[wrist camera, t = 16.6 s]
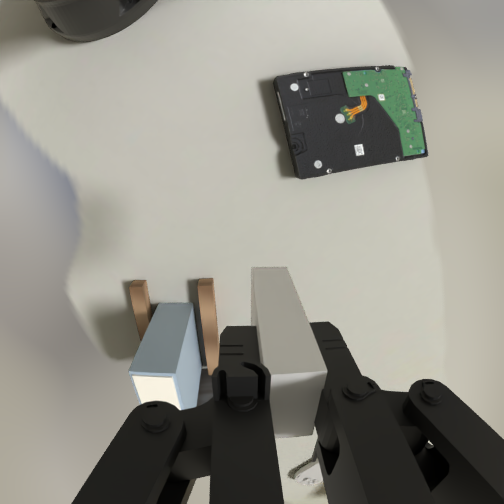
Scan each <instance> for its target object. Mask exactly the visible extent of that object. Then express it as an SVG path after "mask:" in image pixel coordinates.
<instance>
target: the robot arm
mask: <svg viewBox="0 0 504 504" xmlns="http://www.w3.org/2000/svg"><path fill="white" fill-rule="evenodd" d="M35 1H36V3H37V5H38V7H39V9H40V11H41V13H42V15H43V17H44V19H45V21H46V23H47V24H48V26H49V27H50V28H51V29H52V30H53V31H54V32H55V33H57V34H59V35H61V36H62V37H64V38H66V39H69V40H72V41H78V42H84V41H93V40H97V39H101V38H104V37H107V36H110V35H112V34H114V33H116V32H118V31H120V30H122V29H124V28H126V27H127V26H129V25H131V24H132V23H133V22H135V21H136V20H138V19H139V18H140V17H141V16H143V15H144V14H145V13H146V12H147V11H148V10H149V9H150V8H151V7H152V6H153V5H154V4H155V3H156V2H157V0H35ZM211 379H212V389H213V397H212V398H211V399H210V400H209V401H208V402H206V403H204V404H202V405H200V406H197V407H194V408H189V409H184V410H179V409H178V408H177V407H176V406H175V405H173V404H170V403H168V402H165V401H150V402H145V403H143V404H141V405H139V406H137V407H136V408H135V409H134V410H133V411H132V412H131V413H130V414H129V416H128V417H127V419H126V420H125V422H124V424H123V425H122V427H121V428H120V430H119V431H118V433H117V434H116V436H115V437H114V439H113V440H112V442H111V443H110V445H109V446H108V448H107V449H106V451H105V452H104V454H103V456H102V457H101V459H100V460H99V462H98V463H97V465H96V466H95V468H94V469H93V471H92V473H91V474H90V476H89V477H88V479H87V480H86V482H85V483H84V485H83V486H82V488H81V490H80V491H79V493H78V494H77V496H76V497H75V499H74V501H73V502H72V504H187V501H188V499H189V496H190V494H191V491H192V488H193V486H194V483H195V481H196V478H200V477H205V476H209V475H210V502H209V504H284V500H283V492H282V485H281V478H280V471H279V464H278V457H277V450H276V442H275V438H288V437H299V436H308V435H312V434H313V430H314V427H316V431H317V435H318V439H317V442H316V445H315V448H314V452H313V455H312V462H316V459H317V456H318V461H319V465H320V469H321V473H322V477H323V482H324V486H325V490H326V494H327V499H328V503H329V504H504V439H502V437H500V436H499V435H498V434H497V433H496V432H495V431H494V430H493V429H492V428H491V427H490V426H489V425H488V424H487V423H486V422H485V421H484V420H482V419H481V418H480V417H479V416H478V415H477V414H476V413H475V412H474V411H473V410H472V409H471V408H470V407H468V406H467V405H466V404H465V403H464V402H463V401H462V400H461V399H460V398H459V397H458V396H456V395H455V394H454V393H453V392H452V391H451V390H450V389H449V388H448V387H447V386H445V385H444V384H442V383H441V382H439V381H435V380H432V379H422V380H419V381H416V382H415V383H413V384H412V385H411V387H410V389H409V392H395V391H385V390H381V389H380V387H379V386H378V385H377V384H376V383H375V381H373V380H371V379H370V378H368V377H366V376H362V375H361V373H360V371H359V369H358V367H357V365H356V363H355V361H354V359H353V357H352V355H351V353H350V351H349V349H348V348H347V345H346V343H345V341H344V340H343V337H342V335H341V333H340V331H339V330H338V329H337V328H336V327H335V326H334V325H332V324H331V323H330V322H313V323H309V321H308V319H307V316H306V314H305V311H304V309H303V306H302V304H301V301H300V299H299V296H298V294H297V291H296V289H295V286H294V284H293V281H292V279H291V276H290V274H289V271H288V269H287V267H251V326H227V327H226V328H225V329H224V331H223V332H222V333H221V334H220V347H219V361H218V366H217V367H216V368H215V369H214V371H213V374H212V376H211ZM428 441H430V442H431V443H432V444H433V445H431V444H429V443H428Z"/></svg>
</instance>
